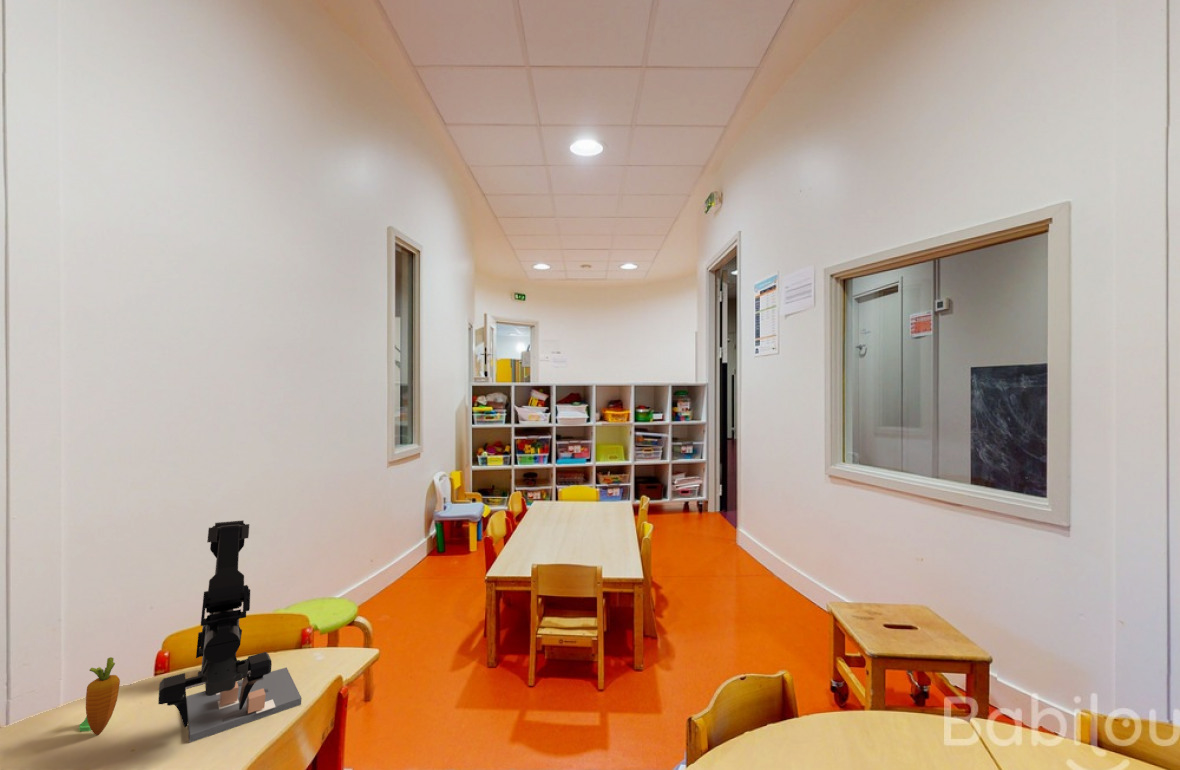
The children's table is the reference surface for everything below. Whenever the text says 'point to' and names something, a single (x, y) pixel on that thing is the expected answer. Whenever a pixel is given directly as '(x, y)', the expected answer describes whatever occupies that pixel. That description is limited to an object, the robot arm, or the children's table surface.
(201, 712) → the switch console
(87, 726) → the game piece
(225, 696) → the slider middle
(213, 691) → the robot arm
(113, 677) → the carrot
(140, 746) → the children's table surface
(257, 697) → the slider near
